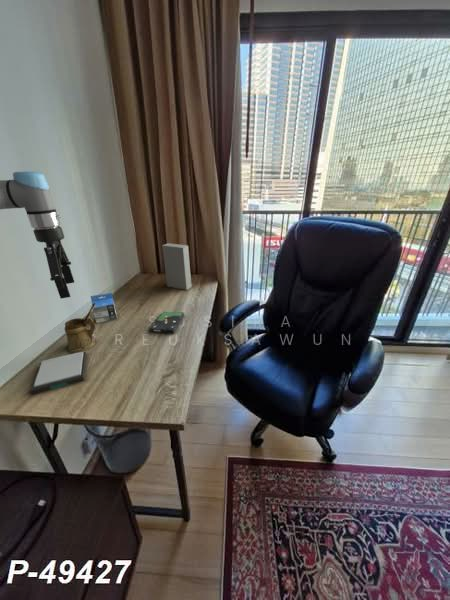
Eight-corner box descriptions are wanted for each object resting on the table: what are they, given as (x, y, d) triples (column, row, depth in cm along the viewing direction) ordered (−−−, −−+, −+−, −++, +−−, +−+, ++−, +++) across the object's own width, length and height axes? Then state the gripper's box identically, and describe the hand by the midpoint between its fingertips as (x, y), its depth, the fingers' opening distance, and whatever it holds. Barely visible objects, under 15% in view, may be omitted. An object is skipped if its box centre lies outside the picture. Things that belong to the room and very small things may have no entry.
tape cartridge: (96, 324, 112) (89, 299, 107) (96, 320, 115) (89, 296, 110) (117, 320, 115) (111, 296, 110) (117, 316, 118) (111, 292, 113)
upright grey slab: (192, 287, 148) (189, 245, 137) (186, 291, 143) (183, 247, 132) (173, 283, 153) (168, 242, 142) (167, 287, 148) (161, 245, 137)
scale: (33, 396, 76) (29, 389, 74) (42, 367, 87) (39, 360, 86) (84, 382, 81) (82, 375, 79) (87, 356, 92) (85, 350, 91)
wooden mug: (104, 349, 96) (92, 308, 87) (65, 355, 93) (49, 313, 85) (108, 336, 103) (97, 297, 95) (72, 342, 100) (58, 302, 92)
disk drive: (174, 335, 104) (184, 316, 117) (174, 329, 102) (183, 311, 115) (150, 334, 105) (162, 315, 118) (149, 328, 104) (162, 310, 117)
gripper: (54, 233, 69) (76, 302, 78) (65, 220, 89) (82, 276, 99) (21, 236, 66) (49, 307, 76) (41, 222, 87) (60, 279, 96)
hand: (68, 289), depth 87 cm, fingers open, 13 cm apart
